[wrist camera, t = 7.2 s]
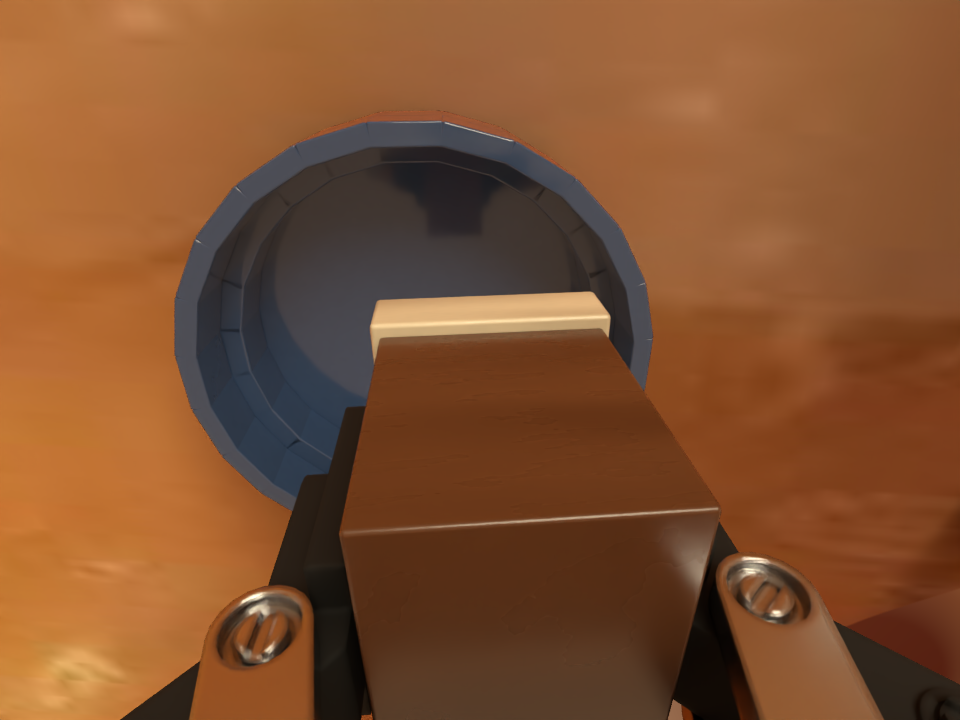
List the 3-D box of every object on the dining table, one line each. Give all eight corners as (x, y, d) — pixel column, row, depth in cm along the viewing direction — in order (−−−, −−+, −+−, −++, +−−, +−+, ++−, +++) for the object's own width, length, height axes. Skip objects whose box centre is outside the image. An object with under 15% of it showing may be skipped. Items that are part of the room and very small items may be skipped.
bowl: (183, 112, 22) (101, 125, 17) (631, 106, 23) (689, 117, 18) (270, 471, 31) (235, 554, 25) (592, 455, 32) (622, 531, 26)
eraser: (375, 297, 10) (317, 518, 5) (593, 289, 10) (745, 491, 5) (405, 570, 13) (388, 865, 8) (569, 559, 13) (647, 839, 8)
